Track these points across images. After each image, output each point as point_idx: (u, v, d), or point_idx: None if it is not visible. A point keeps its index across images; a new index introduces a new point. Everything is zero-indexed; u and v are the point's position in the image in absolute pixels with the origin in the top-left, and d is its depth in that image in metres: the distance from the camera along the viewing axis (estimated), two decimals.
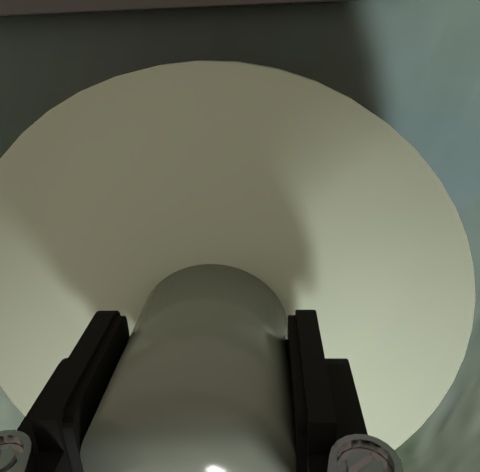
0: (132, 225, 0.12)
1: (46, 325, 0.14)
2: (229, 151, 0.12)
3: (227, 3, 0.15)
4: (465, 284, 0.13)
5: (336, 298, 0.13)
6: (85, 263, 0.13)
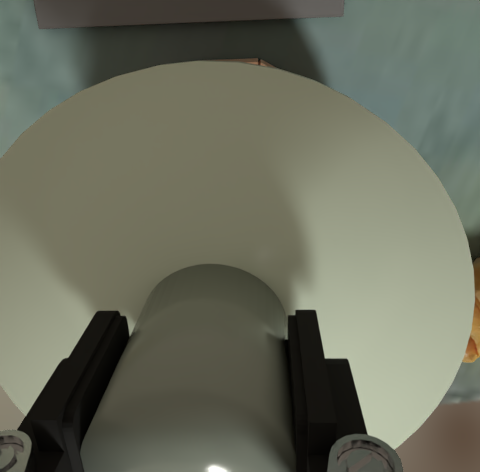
0: (132, 225, 0.12)
1: (47, 324, 0.14)
2: (230, 151, 0.12)
3: (232, 19, 0.25)
4: (465, 284, 0.13)
5: (336, 298, 0.13)
6: (85, 263, 0.13)
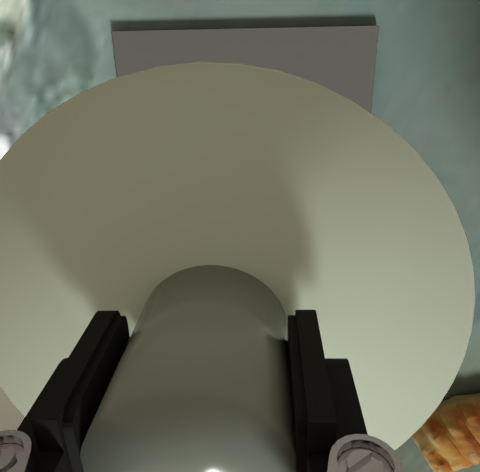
0: (132, 226, 0.12)
1: (47, 326, 0.14)
2: (229, 152, 0.12)
3: None
4: (465, 285, 0.13)
5: (336, 299, 0.13)
6: (85, 264, 0.13)
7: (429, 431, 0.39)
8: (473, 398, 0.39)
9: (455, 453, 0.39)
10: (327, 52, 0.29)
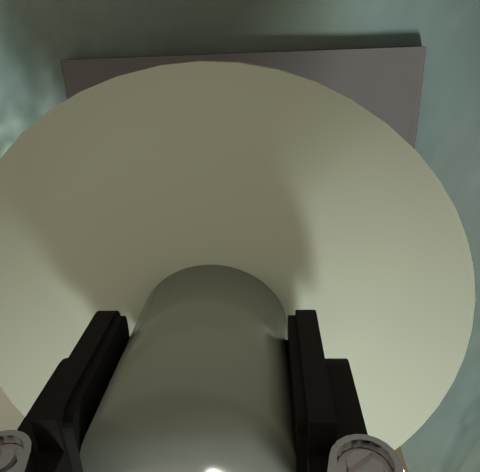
0: (132, 226, 0.12)
1: (46, 325, 0.14)
2: (229, 151, 0.12)
3: None
4: (465, 285, 0.13)
5: (336, 299, 0.13)
6: (85, 263, 0.13)
7: None
8: None
9: None
10: (354, 83, 0.21)
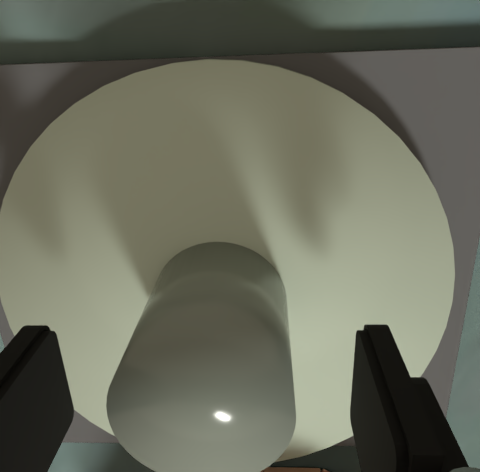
0: (147, 206, 0.14)
1: (68, 298, 0.15)
2: (235, 139, 0.13)
3: None
4: (445, 259, 0.14)
5: (330, 273, 0.15)
6: (104, 241, 0.14)
7: None
8: None
9: None
10: (394, 106, 0.13)
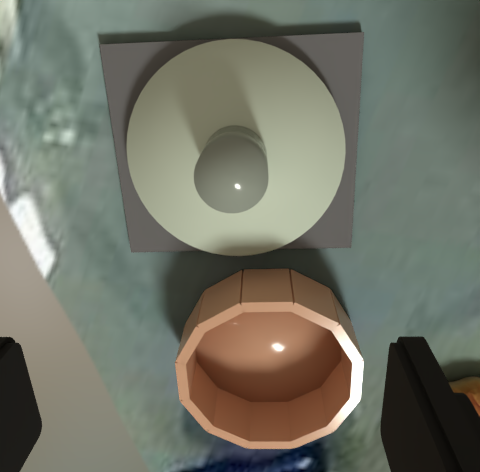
0: (201, 108, 0.30)
1: (161, 158, 0.32)
2: (242, 74, 0.29)
3: None
4: (340, 132, 0.30)
5: (287, 140, 0.31)
6: (180, 126, 0.31)
7: None
8: (451, 386, 0.39)
9: None
10: (313, 59, 0.30)
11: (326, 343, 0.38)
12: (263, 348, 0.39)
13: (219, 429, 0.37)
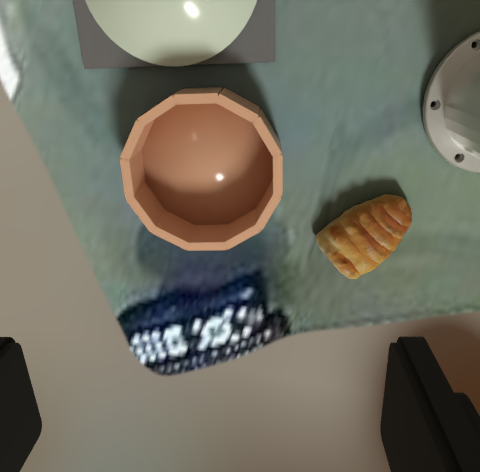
0: None
1: None
2: None
3: (205, 63, 0.40)
4: None
5: None
6: None
7: (330, 235, 0.44)
8: (366, 201, 0.44)
9: (354, 250, 0.44)
10: None
11: (258, 162, 0.44)
12: (203, 167, 0.44)
13: (161, 230, 0.42)
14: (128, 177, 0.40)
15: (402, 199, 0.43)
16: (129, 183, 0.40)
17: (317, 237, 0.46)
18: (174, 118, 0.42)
